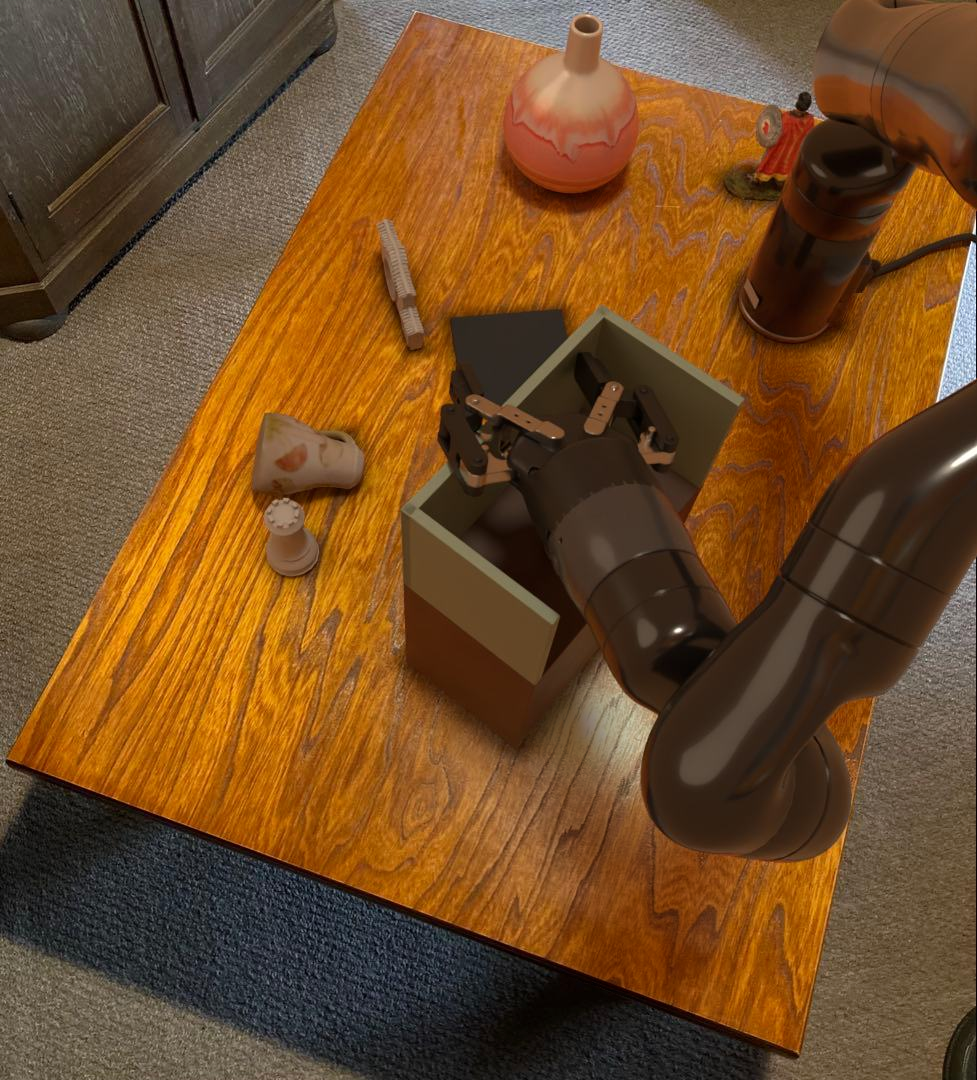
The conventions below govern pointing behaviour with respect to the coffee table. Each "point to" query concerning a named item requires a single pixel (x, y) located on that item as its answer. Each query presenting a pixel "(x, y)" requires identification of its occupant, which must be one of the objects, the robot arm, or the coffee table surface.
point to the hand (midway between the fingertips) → (520, 367)
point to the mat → (507, 347)
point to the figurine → (773, 151)
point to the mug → (303, 457)
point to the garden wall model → (400, 283)
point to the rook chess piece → (289, 539)
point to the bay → (536, 539)
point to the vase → (572, 115)
